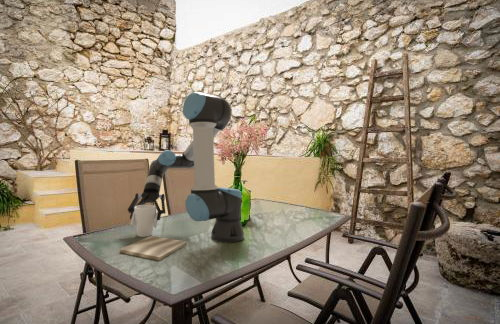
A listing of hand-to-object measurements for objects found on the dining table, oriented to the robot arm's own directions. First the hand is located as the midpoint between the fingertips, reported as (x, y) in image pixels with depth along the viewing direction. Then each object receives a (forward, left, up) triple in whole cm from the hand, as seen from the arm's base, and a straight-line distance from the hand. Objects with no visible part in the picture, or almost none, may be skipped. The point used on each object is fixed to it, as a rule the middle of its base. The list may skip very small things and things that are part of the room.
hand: (143, 226), depth 120 cm
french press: (-30, -51, -5) cm, 59 cm away
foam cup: (+1, -3, -5) cm, 6 cm away
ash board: (-14, +9, -5) cm, 17 cm away
